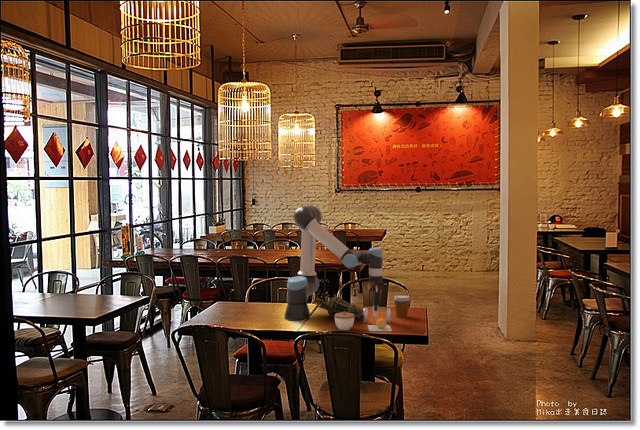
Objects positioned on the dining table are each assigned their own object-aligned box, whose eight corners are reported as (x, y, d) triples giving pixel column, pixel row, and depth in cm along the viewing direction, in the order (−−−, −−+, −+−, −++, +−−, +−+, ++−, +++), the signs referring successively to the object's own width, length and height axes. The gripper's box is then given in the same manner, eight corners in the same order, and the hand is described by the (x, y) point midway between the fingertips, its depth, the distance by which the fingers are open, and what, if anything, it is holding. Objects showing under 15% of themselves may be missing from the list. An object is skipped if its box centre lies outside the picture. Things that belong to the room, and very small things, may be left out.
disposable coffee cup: (398, 319, 330) (398, 298, 329) (390, 315, 339) (390, 295, 338) (413, 317, 333) (413, 297, 333) (404, 314, 342) (404, 294, 342)
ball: (374, 323, 312) (376, 330, 307) (376, 315, 310) (377, 322, 305) (384, 323, 313) (386, 330, 308) (386, 316, 310) (387, 322, 305)
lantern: (355, 330, 320) (305, 313, 326) (361, 324, 343) (314, 309, 349) (362, 307, 320) (312, 290, 326) (367, 302, 343) (320, 287, 349)
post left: (363, 323, 321) (363, 309, 320) (363, 322, 323) (363, 308, 323) (368, 323, 321) (368, 308, 320) (367, 322, 323) (367, 307, 323)
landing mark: (369, 331, 303) (369, 330, 303) (367, 325, 315) (367, 325, 315) (392, 331, 303) (392, 330, 303) (389, 325, 315) (389, 325, 315)
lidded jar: (352, 332, 302) (352, 314, 301) (332, 330, 305) (332, 313, 304) (356, 327, 312) (356, 310, 311) (337, 325, 315) (337, 308, 314)
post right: (386, 323, 321) (386, 308, 320) (385, 321, 323) (385, 307, 323) (390, 323, 321) (390, 308, 320) (390, 321, 323) (390, 307, 323)
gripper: (383, 277, 322) (383, 318, 323) (380, 273, 335) (380, 313, 336) (370, 277, 322) (370, 318, 323) (368, 273, 335) (367, 313, 336)
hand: (375, 315), depth 330 cm, fingers closed
